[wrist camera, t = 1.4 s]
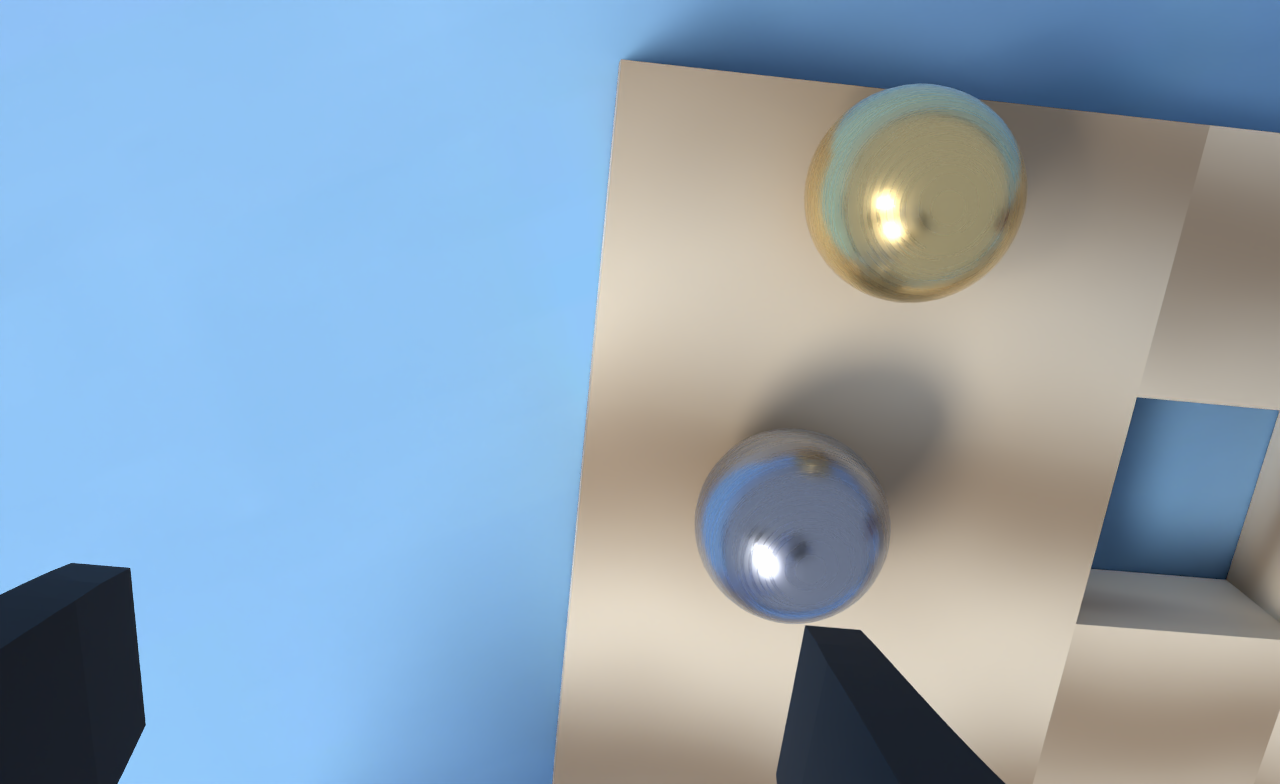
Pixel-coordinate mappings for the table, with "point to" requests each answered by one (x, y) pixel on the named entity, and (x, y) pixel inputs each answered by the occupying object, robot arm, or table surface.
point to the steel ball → (792, 526)
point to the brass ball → (915, 193)
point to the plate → (924, 444)
